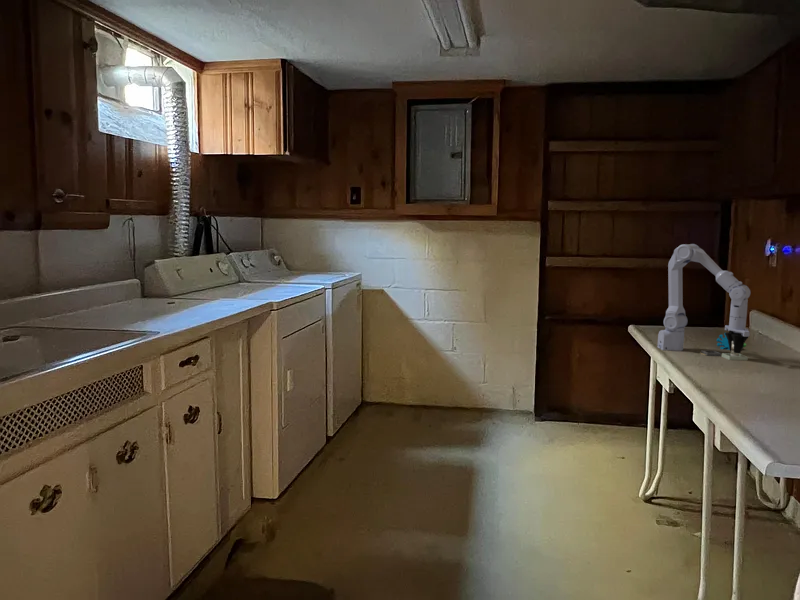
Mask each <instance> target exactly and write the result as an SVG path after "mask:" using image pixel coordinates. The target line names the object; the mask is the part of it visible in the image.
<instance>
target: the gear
mask: <svg viewBox="0 0 800 600" xmlns="http://www.w3.org/2000/svg"><path fill="white" fill-rule="evenodd" d="M725 333H726V332H724V334H719V335H718V338H716V342H717V343H716V346H717V347H720V350H727V351H730V349H729V343H728V339H727V337H726V335H725ZM746 347H747V343H746V342H745V343H744V345H743V347H742V350H744V348H746Z"/></svg>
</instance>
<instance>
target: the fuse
mask: <svg viewBox="0 0 800 600" xmlns="http://www.w3.org/2000/svg"><path fill="white" fill-rule="evenodd" d="M730 353H731V356H739V354H740V353H734V343H733V341H732V347H731V351H730Z"/></svg>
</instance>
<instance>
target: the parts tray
mask: <svg viewBox="0 0 800 600" xmlns="http://www.w3.org/2000/svg"><path fill="white" fill-rule="evenodd" d="M721 355H722V356H721V358H724V359H725V360H729V361H748V359H749V357H748V356H746V355H745V354H741V353H739V356H731V352H730V353H729V352H728V353H724V352H722V353H721Z"/></svg>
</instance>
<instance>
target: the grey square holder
mask: <svg viewBox="0 0 800 600" xmlns="http://www.w3.org/2000/svg"><path fill="white" fill-rule="evenodd" d="M699 354H701V355H702V356H706V357H722V353H721V352H718V351H716V350H701V349H700V352H699Z"/></svg>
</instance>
